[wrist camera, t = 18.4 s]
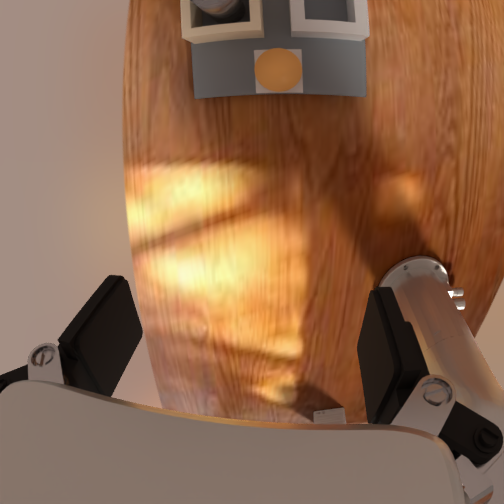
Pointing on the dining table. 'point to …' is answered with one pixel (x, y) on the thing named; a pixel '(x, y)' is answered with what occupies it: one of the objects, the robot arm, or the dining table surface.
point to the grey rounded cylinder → (222, 10)
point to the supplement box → (330, 416)
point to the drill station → (280, 46)
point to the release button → (278, 69)
